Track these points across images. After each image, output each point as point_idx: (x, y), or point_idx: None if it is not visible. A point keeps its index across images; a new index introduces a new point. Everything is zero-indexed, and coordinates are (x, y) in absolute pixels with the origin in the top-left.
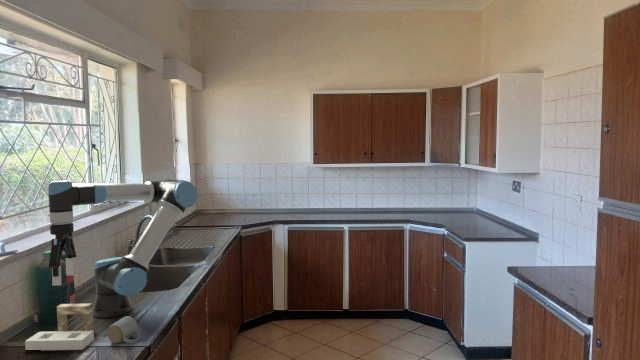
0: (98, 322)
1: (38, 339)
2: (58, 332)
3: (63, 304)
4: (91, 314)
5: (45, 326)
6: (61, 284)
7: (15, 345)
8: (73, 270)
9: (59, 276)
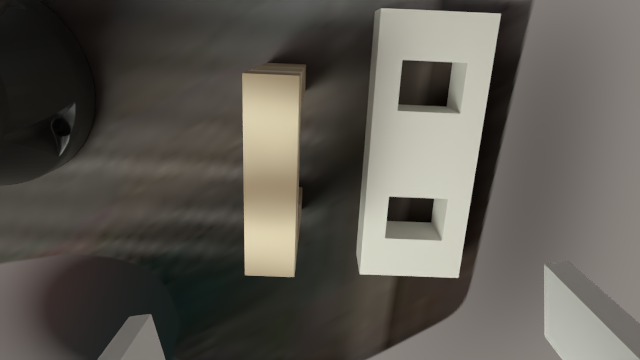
0: (153, 92)
1: (451, 231)
2: (381, 184)
3: (253, 257)
4: (271, 69)
5: (203, 308)
6: (545, 264)
7: (387, 319)
8: (127, 351)
9: (634, 332)
